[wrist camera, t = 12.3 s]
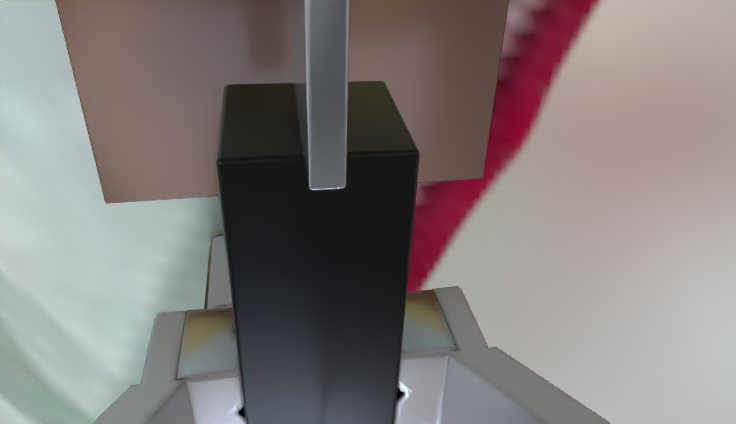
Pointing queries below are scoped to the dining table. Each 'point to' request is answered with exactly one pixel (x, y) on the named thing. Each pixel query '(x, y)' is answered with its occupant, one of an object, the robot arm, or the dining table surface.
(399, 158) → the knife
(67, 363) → the dining table surface
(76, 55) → the cutting board
